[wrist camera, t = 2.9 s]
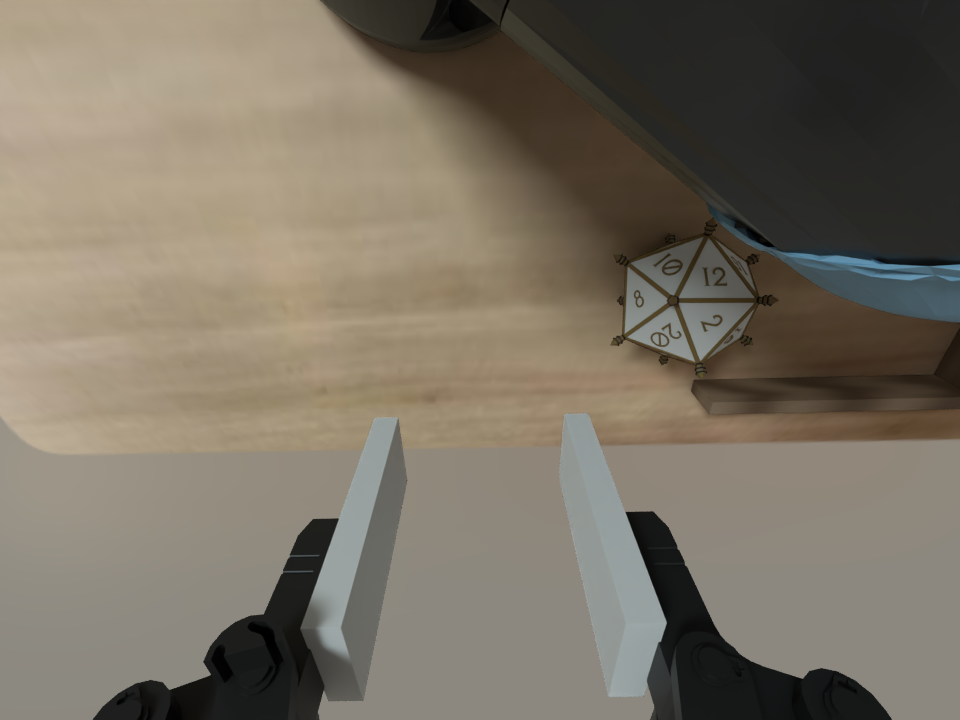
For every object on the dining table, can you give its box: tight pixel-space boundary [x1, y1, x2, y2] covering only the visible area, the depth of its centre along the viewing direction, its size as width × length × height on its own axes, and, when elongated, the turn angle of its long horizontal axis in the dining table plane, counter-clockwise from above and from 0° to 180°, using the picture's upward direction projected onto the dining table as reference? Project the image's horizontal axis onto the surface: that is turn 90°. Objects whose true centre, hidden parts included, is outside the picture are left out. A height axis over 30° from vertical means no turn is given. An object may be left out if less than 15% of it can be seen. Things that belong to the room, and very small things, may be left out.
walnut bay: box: [691, 329, 960, 414], centre depth 27 cm, size 19×18×3 cm
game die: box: [611, 217, 779, 380], centre depth 25 cm, size 9×8×10 cm
